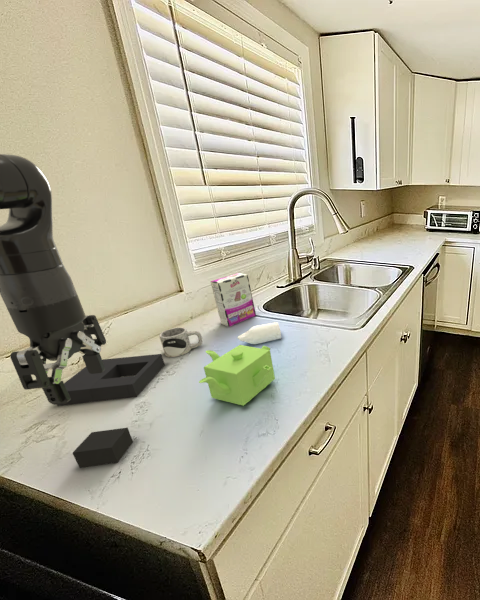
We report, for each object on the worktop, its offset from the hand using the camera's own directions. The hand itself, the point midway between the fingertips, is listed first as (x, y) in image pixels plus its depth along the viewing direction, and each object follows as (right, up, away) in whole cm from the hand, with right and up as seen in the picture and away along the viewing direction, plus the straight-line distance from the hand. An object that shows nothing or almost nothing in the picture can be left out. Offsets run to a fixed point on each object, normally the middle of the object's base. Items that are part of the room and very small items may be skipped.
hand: (80, 386), depth 55 cm
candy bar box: (-4, +7, +62) cm, 63 cm away
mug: (-10, -1, +42) cm, 43 cm away
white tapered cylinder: (+10, +1, +47) cm, 48 cm away
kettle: (+16, -8, +23) cm, 29 cm away
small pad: (0, -15, +6) cm, 16 cm away
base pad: (-17, -7, +26) cm, 32 cm away
